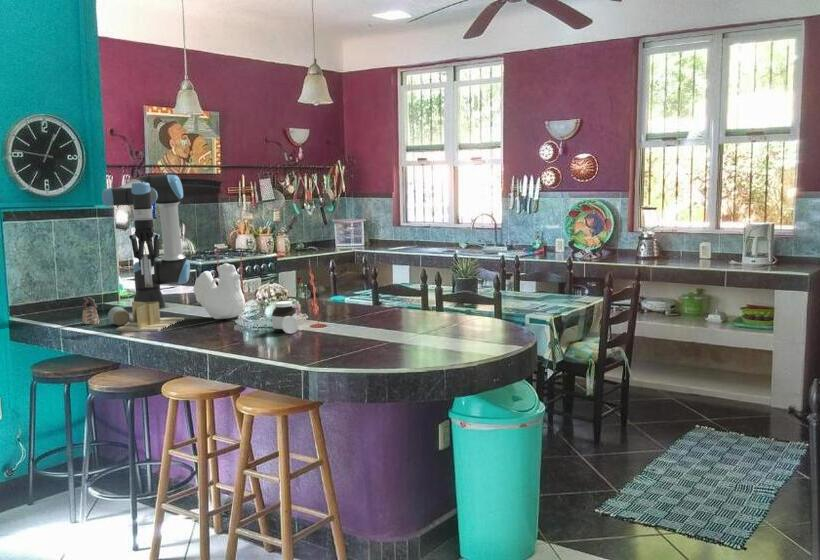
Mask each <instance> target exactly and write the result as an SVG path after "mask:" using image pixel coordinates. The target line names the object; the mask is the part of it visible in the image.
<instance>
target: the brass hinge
mask: <svg viewBox="0 0 820 560" xmlns="http://www.w3.org/2000/svg"><path fill="white" fill-rule="evenodd" d="M131 307H132V309H131V310H132V318H133V321H134V322H138V329H141V328H143V327H146V326H148V325H155V324H159V323H160V318H161V315H160V313H161V312H160V311H161V310H160V307H159V302H136V301H134V300H133V301H131Z"/></svg>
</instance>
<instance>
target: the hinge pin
mask: <svg viewBox="0 0 820 560" xmlns="http://www.w3.org/2000/svg"><path fill="white" fill-rule="evenodd" d="M149 258H150V256H149V253H146V254H145V253H144V254H143V265H144V277H145V287H153V284H152V274H151V275H150V273H149V261H148V259H149Z"/></svg>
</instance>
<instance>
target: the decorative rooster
mask: <svg viewBox="0 0 820 560" xmlns="http://www.w3.org/2000/svg"><path fill="white" fill-rule="evenodd" d="M216 269H217V272H218V274H219V277H215V278H214V276H213V275H212V273H211V272H210V270H205V271H203V272H201V273H200V274H199V276H198V277H197V278H196V279H195V283H194V286H193V288H192V289H193V294H194V296H195V299H196V301H197V303H198V304H200V305H201V307H203V308H204V309H205V311H206V312H207V313H208V315H209V316H210V317H212V318H213V319H214V320H223V319H233V318H237V317H236V316H238V315H239V314H241V312H242V309H243V306H244V304H246V300H245V295H244V293H243V291H242V288H241V279H240V278H241V274H239V273H238V271H237V269H236V267H235V265H234V264H230V263H223V264H220V265H219V266H217V268H216ZM216 282H217V283H218V285H217V284H216ZM241 315H242V314H241ZM239 316H240V315H239ZM239 316H238V317H239Z"/></svg>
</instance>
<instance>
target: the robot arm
mask: <svg viewBox="0 0 820 560" xmlns="http://www.w3.org/2000/svg"><path fill="white" fill-rule="evenodd" d="M101 193H102V194H101V199H102V202H103V205H104V206H106V207H108V206H109V207H115V206H116V207H117V206H118V207H119V206H132V207H133V208H132V209H133V218H134V221H133V223H134V224H133V225H134V229H135V230H134V233H133V234H131V235H129V237H128V238H129V239H130V241H131V248H132V253H133V258H135V259H138V261H137V262H134V264H133V276H134V277H133V278H134V286H135V287H134V288H135V289H134V290H135V294H134V298H133V301H136V302H159V308H162V307H164V306H166V300H165V298H164V295H163V293H162V290H161V286H164V285H181V284H182V285H183V284H187V282H188V281H189V279H190V274H191V273H190V272H191V262H190V260H189V259H187V257H186V255H184V253H183V249H182V248H183V247H182V238H181V237H182V236H181V228H180V219H179V218H180V217H179V208H178V207H179V204H180V203H181V199H183V198H184V189H183V184H182V181H181V179H180V177H179V176H178V175H176V174H157V175H156V174H155V175H143V176H142V175H141V176H138V177H136V178H133V179H130V180H128V181H127V182H126V183H125V184H123V185H120V186H118V187H113V188H112V187H109V188H104V189H103V190H102V192H101ZM154 203H155V205H157V206H158V208H159V216H160V227H161V234H160V233H156V232H155V231H154V220H153V208H152V207H153V206H152V204H153V205H154ZM161 236H162V247H163V256H162V257H160V238H161ZM137 239H138V240H137ZM145 243H146V247H147V250H148V251H147V252H148V254H149V256H150V258H149V259H148V261H149V273H150V275H151V274H152V284H153V287H145V277H144V265H143V254H145V253H144V252H145V251H144V250H145ZM159 257H160V258H161V259H160V261H159V259H158V258H159Z"/></svg>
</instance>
